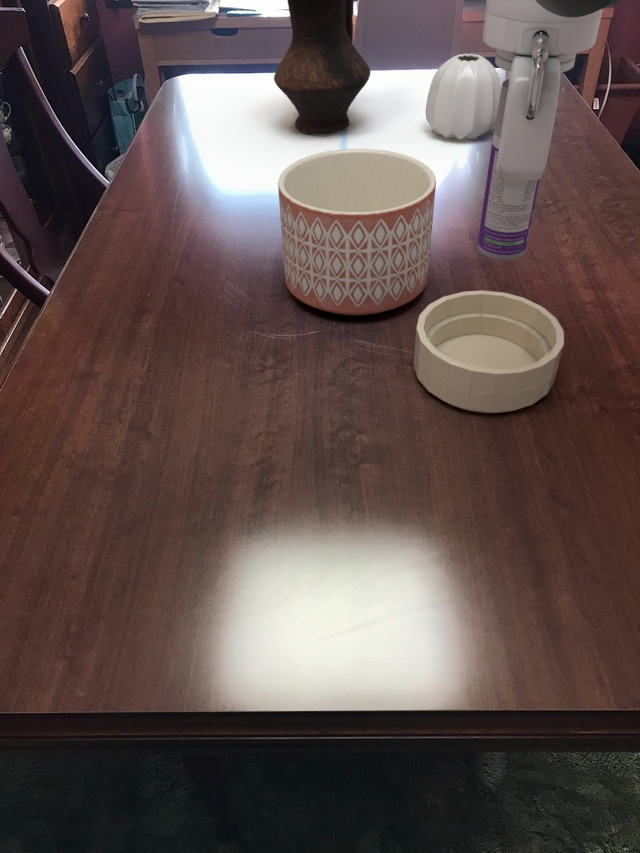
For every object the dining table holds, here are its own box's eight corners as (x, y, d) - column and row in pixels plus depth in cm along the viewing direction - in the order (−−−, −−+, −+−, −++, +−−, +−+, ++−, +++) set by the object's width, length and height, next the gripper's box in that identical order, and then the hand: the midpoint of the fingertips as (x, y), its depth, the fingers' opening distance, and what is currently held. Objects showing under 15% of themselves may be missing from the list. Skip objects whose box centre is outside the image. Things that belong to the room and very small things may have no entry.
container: (489, 232, 70) (514, 73, 60) (533, 244, 68) (566, 81, 58) (469, 251, 67) (491, 87, 57) (514, 264, 65) (545, 97, 55)
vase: (419, 142, 131) (424, 66, 122) (432, 118, 140) (437, 45, 131) (492, 149, 127) (503, 70, 118) (500, 123, 137) (511, 48, 128)
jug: (346, 150, 129) (346, -41, 109) (260, 137, 135) (245, -46, 115) (387, 114, 143) (394, -62, 123) (307, 103, 149) (301, -65, 129)
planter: (256, 294, 93) (245, 187, 83) (340, 238, 104) (339, 138, 94) (375, 342, 84) (378, 229, 74) (452, 275, 95) (465, 169, 85)
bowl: (552, 340, 83) (562, 298, 79) (553, 426, 72) (565, 381, 68) (422, 326, 86) (426, 284, 82) (404, 406, 75) (407, 362, 71)
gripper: (590, 56, 46) (548, 244, 56) (578, -10, 61) (547, 148, 70) (494, 52, 47) (469, 237, 57) (505, -11, 62) (484, 145, 71)
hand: (512, 187), depth 63 cm, fingers closed on container, 4 cm apart
